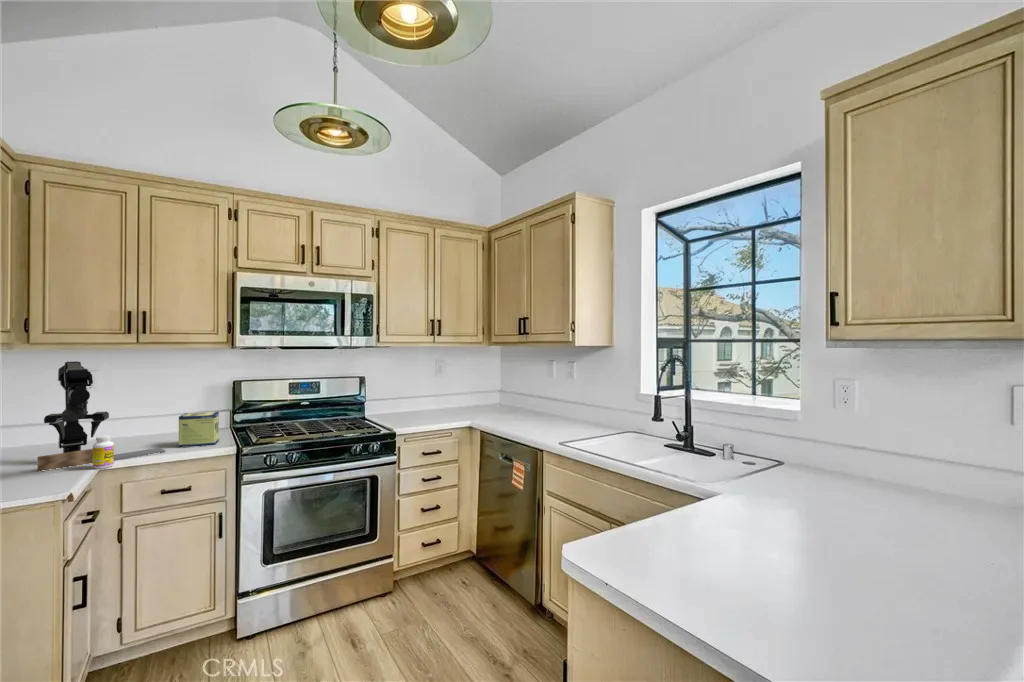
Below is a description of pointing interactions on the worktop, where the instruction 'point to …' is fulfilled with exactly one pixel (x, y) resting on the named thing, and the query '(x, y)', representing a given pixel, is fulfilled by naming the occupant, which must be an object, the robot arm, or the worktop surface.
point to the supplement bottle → (103, 452)
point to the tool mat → (137, 453)
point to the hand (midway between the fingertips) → (77, 438)
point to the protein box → (198, 429)
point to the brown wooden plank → (65, 459)
